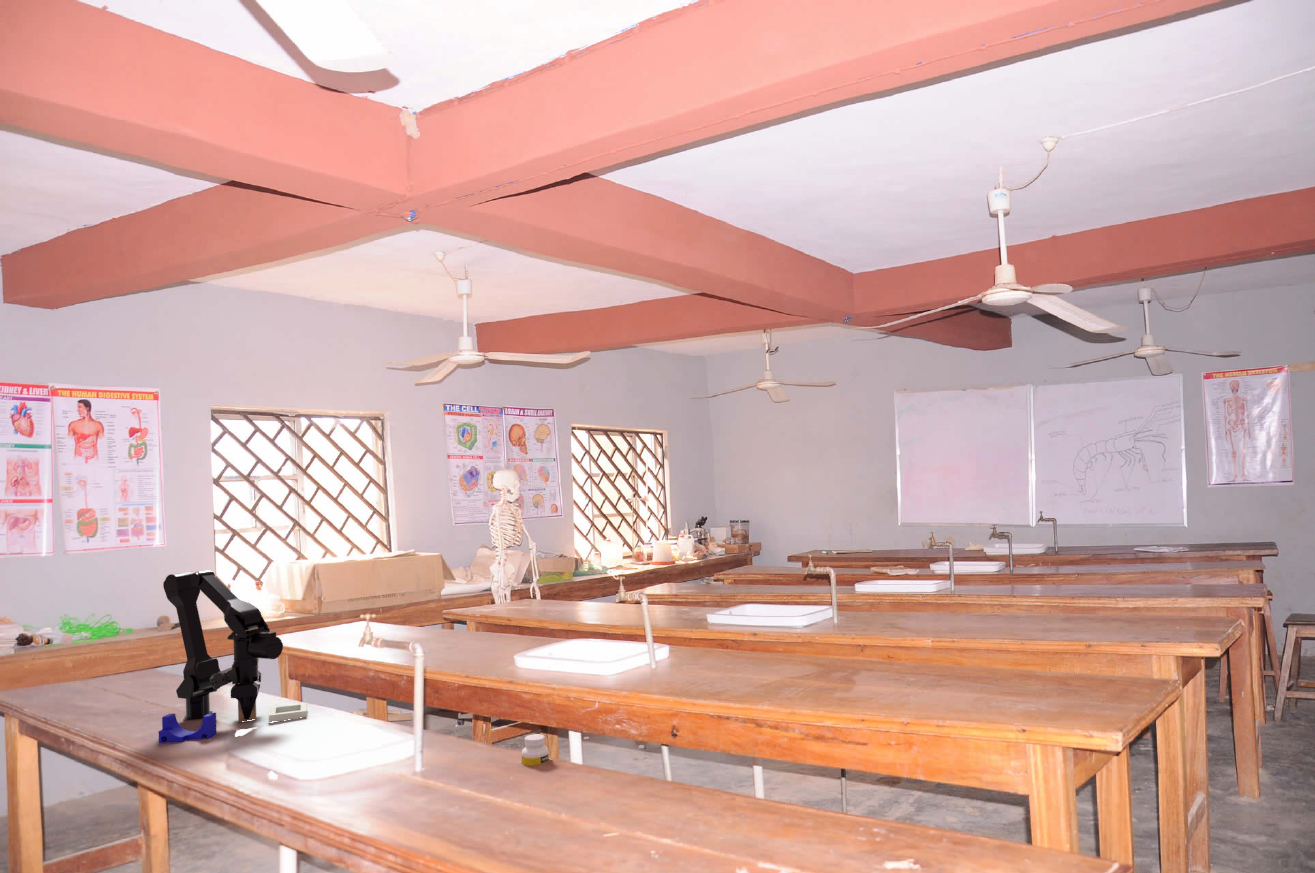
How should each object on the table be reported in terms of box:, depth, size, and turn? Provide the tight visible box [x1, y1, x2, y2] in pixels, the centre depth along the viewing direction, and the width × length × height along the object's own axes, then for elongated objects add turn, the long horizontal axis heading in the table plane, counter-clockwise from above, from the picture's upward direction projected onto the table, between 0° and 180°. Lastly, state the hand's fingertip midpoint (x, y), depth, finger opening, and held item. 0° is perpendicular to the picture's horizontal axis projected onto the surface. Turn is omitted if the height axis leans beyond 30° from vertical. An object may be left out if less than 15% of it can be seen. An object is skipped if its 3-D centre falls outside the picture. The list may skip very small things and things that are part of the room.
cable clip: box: [158, 712, 217, 744], centre depth 222 cm, size 12×4×6 cm, turn 86°
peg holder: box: [268, 702, 308, 723], centre depth 235 cm, size 9×9×3 cm
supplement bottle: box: [521, 733, 549, 767], centre depth 181 cm, size 5×5×10 cm
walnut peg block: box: [237, 700, 257, 722], centre depth 236 cm, size 4×4×7 cm
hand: (247, 716), depth 236 cm, fingers closed on walnut peg block, 4 cm apart
